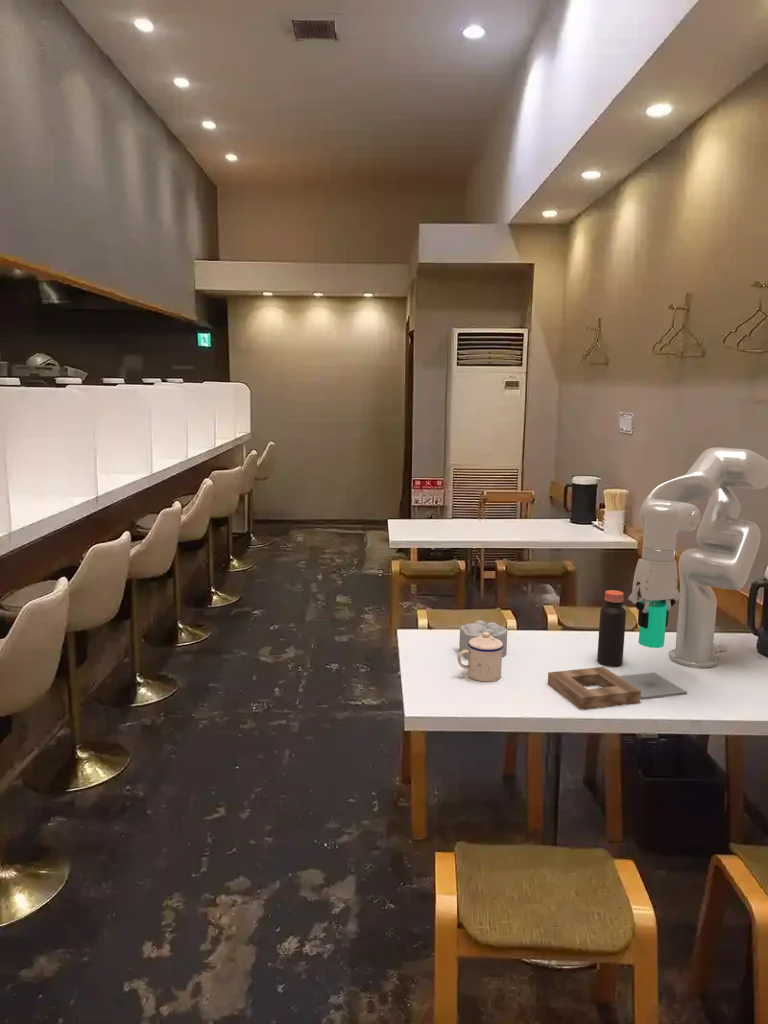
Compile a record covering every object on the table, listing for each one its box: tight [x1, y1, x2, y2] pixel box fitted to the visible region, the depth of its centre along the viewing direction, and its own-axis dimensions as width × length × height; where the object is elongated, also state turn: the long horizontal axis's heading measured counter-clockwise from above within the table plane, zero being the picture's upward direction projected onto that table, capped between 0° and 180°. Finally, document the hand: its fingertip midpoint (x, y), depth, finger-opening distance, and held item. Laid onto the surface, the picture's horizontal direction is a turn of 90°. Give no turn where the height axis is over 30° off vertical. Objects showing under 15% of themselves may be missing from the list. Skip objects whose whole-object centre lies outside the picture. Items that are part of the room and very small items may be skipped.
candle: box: [638, 601, 667, 649], centre depth 182 cm, size 6×6×12 cm
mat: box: [618, 672, 688, 700], centre depth 185 cm, size 13×13×1 cm
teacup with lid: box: [456, 632, 503, 683], centre depth 189 cm, size 12×9×12 cm
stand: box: [547, 666, 641, 710], centre depth 180 cm, size 16×16×3 cm
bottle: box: [596, 589, 627, 668], centre depth 199 cm, size 7×7×20 cm
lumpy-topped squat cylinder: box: [458, 619, 508, 660], centre depth 206 cm, size 10×13×9 cm
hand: (652, 625), depth 182 cm, fingers closed on candle, 4 cm apart
